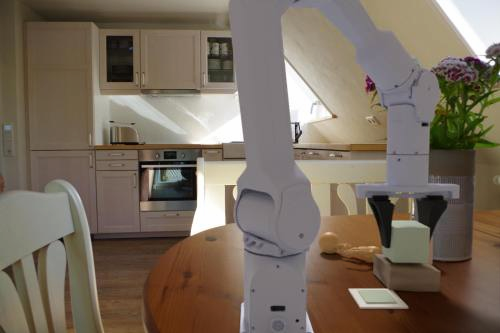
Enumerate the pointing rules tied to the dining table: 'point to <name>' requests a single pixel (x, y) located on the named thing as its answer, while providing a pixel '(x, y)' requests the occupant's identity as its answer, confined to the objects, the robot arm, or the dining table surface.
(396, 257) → the sage block
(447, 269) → the dining table surface
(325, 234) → the figurine
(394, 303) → the swatch
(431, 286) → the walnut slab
